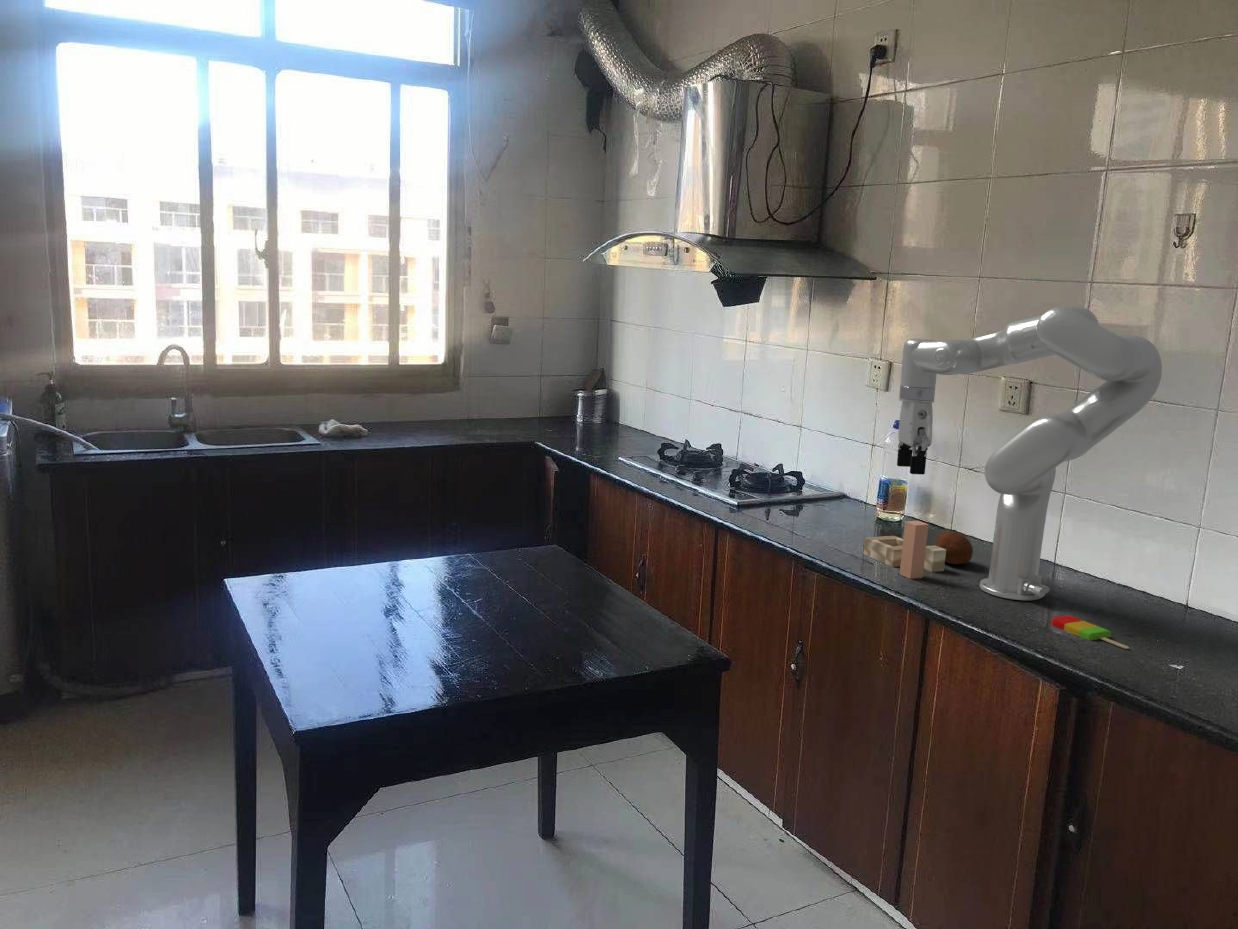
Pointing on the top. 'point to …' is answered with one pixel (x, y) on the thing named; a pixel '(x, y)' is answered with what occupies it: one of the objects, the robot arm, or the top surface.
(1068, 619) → the popsicle
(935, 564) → the short peg
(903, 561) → the long peg
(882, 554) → the slot block
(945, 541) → the brown oval lump
